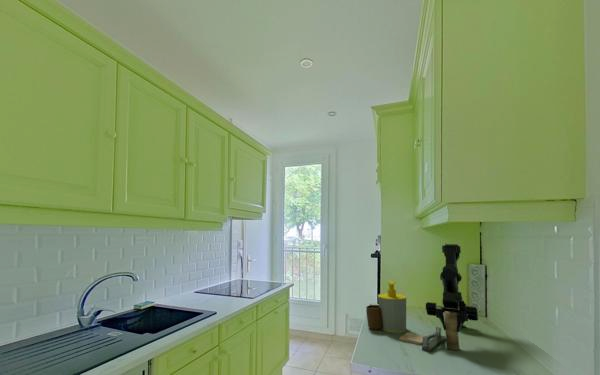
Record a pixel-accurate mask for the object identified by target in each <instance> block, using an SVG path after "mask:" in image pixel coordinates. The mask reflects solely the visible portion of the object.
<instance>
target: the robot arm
mask: <svg viewBox="0 0 600 375" xmlns="http://www.w3.org/2000/svg"><path fill="white" fill-rule="evenodd" d="M441 249H442V250H441V252H442V254H443V256H444V257H445V265H444V266H443V267H442V272H440V275H439V277H440V278H439V279H440V281H441V282H442V287H443V292H442V301H441V302H442V305H437V303H436V302H431V301H430V302H429V301H427V302H426V303H425V310H426V311H425V312H426V314H427V315H428V316H433V317H436V318H437V319H439V320H440V323H441V325H442V328H443V330H444V331H445V316H444V312H445V311H452V312H456V313H457V325H458V326H457V328H458V333H459V332H460V330H461V329H462V328H467V325H465V324H464V323H465V322H469V321H476V322H477V321H479V316H478V308H477V306H473V305H472V306H470V305H467V304H466V303H465V300H463V295H462V292H460V291H459V284H460V282H461V281H462V280H463V279H462V275H461V273H459V268H458V265H457V264H458V263H457V262H458V261H459V260H460V258H461V256H460V254H462V249H461V246H460V245H458V244H457V243H456V244H455V243H454V244H453V243H452V244H451V243H445V244H444V245H442V246H441ZM468 320H469V321H468Z"/></svg>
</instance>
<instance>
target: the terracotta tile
mask: <svg viewBox="0 0 600 375" xmlns="http://www.w3.org/2000/svg"><path fill="white" fill-rule="evenodd" d="M424 336H425V335H421V334H416V333H412V332H406V333H405V334H403V335H401V336H400V337H399V341H402V342H406V343H411V344H413V345H414V344H415V345H419V346H423V338H422V337H424Z"/></svg>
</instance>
